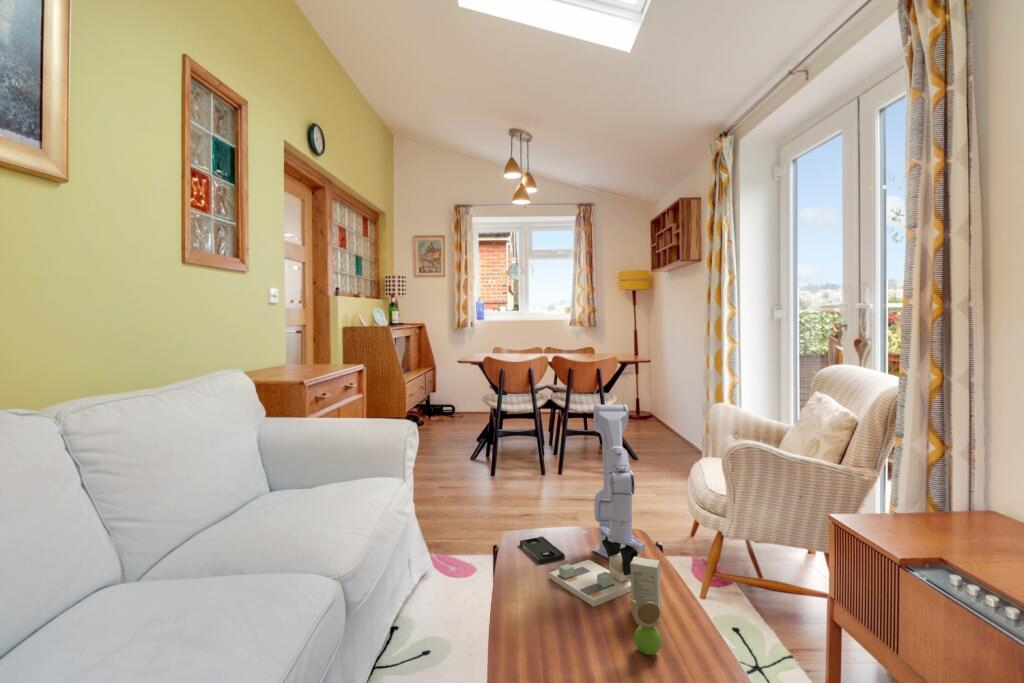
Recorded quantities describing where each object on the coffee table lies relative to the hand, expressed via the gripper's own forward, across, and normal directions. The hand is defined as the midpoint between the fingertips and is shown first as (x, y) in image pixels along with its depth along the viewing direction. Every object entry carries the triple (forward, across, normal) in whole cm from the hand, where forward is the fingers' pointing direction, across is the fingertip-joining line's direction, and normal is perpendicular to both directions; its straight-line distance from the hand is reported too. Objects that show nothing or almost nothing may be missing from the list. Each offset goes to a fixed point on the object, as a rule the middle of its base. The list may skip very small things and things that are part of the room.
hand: (620, 570), depth 130 cm
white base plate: (+4, -4, -6) cm, 9 cm away
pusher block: (+2, 0, 0) cm, 2 cm away
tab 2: (+2, 0, -6) cm, 6 cm away
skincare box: (+4, +13, -5) cm, 15 cm away
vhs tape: (+4, -27, -5) cm, 28 cm away
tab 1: (+2, -9, -11) cm, 14 cm away
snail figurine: (+4, +23, -17) cm, 28 cm away
